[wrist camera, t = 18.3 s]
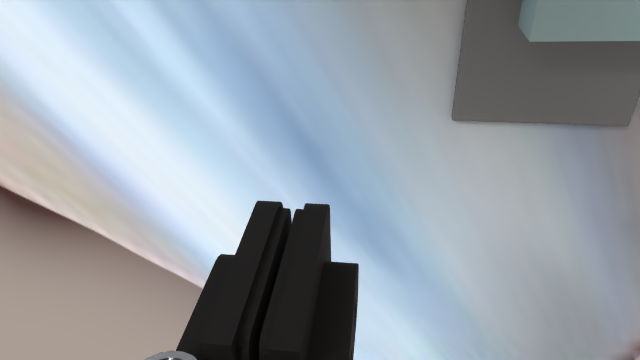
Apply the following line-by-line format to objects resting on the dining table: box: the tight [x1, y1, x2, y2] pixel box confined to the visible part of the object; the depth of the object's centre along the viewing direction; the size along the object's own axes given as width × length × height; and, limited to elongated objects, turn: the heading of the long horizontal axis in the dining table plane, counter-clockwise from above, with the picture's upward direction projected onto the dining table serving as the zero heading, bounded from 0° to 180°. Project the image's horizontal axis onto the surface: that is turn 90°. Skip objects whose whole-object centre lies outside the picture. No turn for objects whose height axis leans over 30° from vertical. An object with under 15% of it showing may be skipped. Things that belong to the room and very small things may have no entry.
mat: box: [452, 0, 640, 126], centre depth 29 cm, size 12×11×1 cm
